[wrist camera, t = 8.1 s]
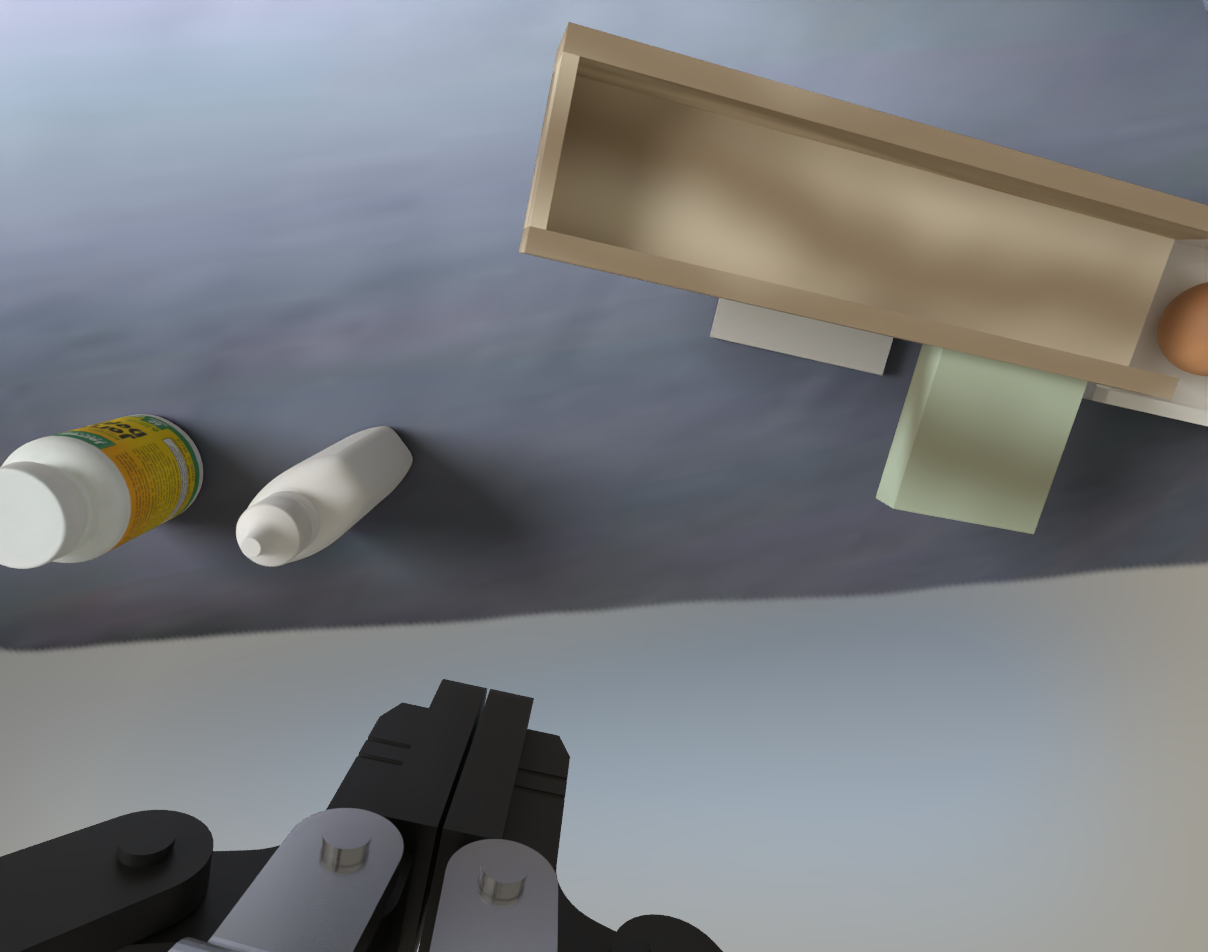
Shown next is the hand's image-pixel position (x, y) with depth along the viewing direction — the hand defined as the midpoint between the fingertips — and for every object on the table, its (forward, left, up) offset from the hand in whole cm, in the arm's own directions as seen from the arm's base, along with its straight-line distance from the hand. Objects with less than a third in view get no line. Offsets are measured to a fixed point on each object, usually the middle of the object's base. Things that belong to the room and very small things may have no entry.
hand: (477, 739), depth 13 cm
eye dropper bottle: (+4, -10, -27) cm, 29 cm away
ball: (-11, +26, -24) cm, 37 cm away
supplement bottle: (+6, -20, -27) cm, 34 cm away
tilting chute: (-8, +8, -22) cm, 25 cm away
